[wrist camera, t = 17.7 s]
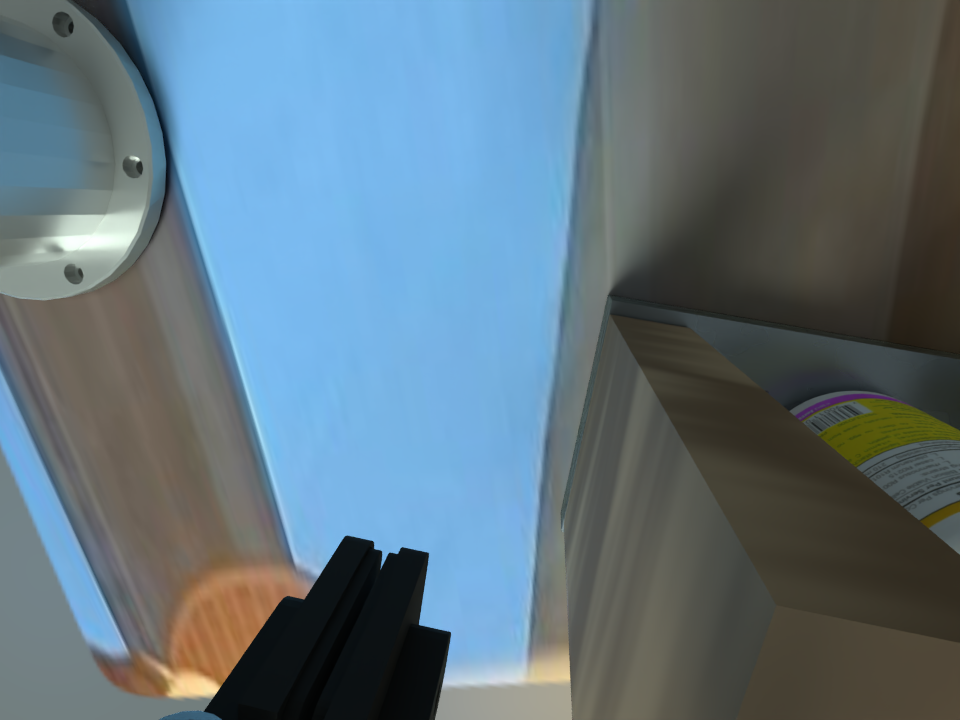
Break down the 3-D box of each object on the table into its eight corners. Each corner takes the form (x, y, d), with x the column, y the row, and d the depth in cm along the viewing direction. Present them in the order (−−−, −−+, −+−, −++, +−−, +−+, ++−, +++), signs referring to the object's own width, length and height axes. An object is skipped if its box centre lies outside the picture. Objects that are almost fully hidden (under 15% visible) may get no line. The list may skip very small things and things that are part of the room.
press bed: (560, 513, 25) (564, 611, 19) (608, 294, 23) (630, 326, 16) (930, 586, 24) (1062, 717, 18) (1027, 365, 22) (1222, 429, 15)
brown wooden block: (563, 523, 24) (589, 1133, 8) (609, 314, 21) (777, 605, 6) (635, 537, 23) (806, 1194, 8) (690, 327, 21) (1100, 672, 5)
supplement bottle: (897, 557, 22) (1319, 977, 10) (727, 525, 23) (933, 887, 11) (959, 400, 21) (1563, 677, 8) (774, 369, 21) (1086, 586, 9)
